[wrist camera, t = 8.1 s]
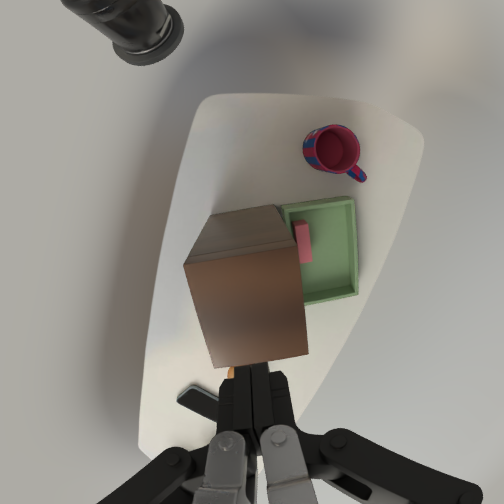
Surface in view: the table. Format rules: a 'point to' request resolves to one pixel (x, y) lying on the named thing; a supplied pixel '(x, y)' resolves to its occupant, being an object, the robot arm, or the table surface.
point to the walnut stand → (248, 288)
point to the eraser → (302, 240)
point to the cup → (334, 151)
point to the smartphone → (199, 402)
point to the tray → (327, 248)
